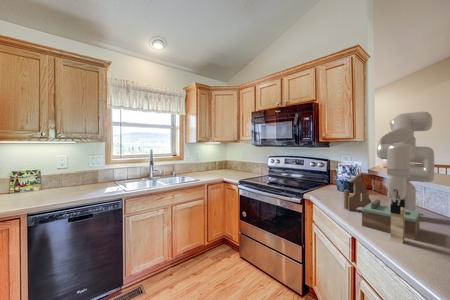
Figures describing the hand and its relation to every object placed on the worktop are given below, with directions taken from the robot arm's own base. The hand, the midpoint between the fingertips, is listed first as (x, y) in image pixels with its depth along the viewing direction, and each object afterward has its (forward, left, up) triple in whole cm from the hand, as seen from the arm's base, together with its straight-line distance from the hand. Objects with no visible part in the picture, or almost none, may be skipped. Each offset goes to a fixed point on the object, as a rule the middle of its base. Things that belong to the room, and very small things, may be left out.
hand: (397, 210), depth 86 cm
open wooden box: (-13, -5, -15) cm, 20 cm away
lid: (-13, -5, -5) cm, 15 cm away
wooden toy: (-35, -25, -15) cm, 46 cm away
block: (0, 0, -15) cm, 15 cm away
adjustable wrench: (-63, -5, -15) cm, 65 cm away
